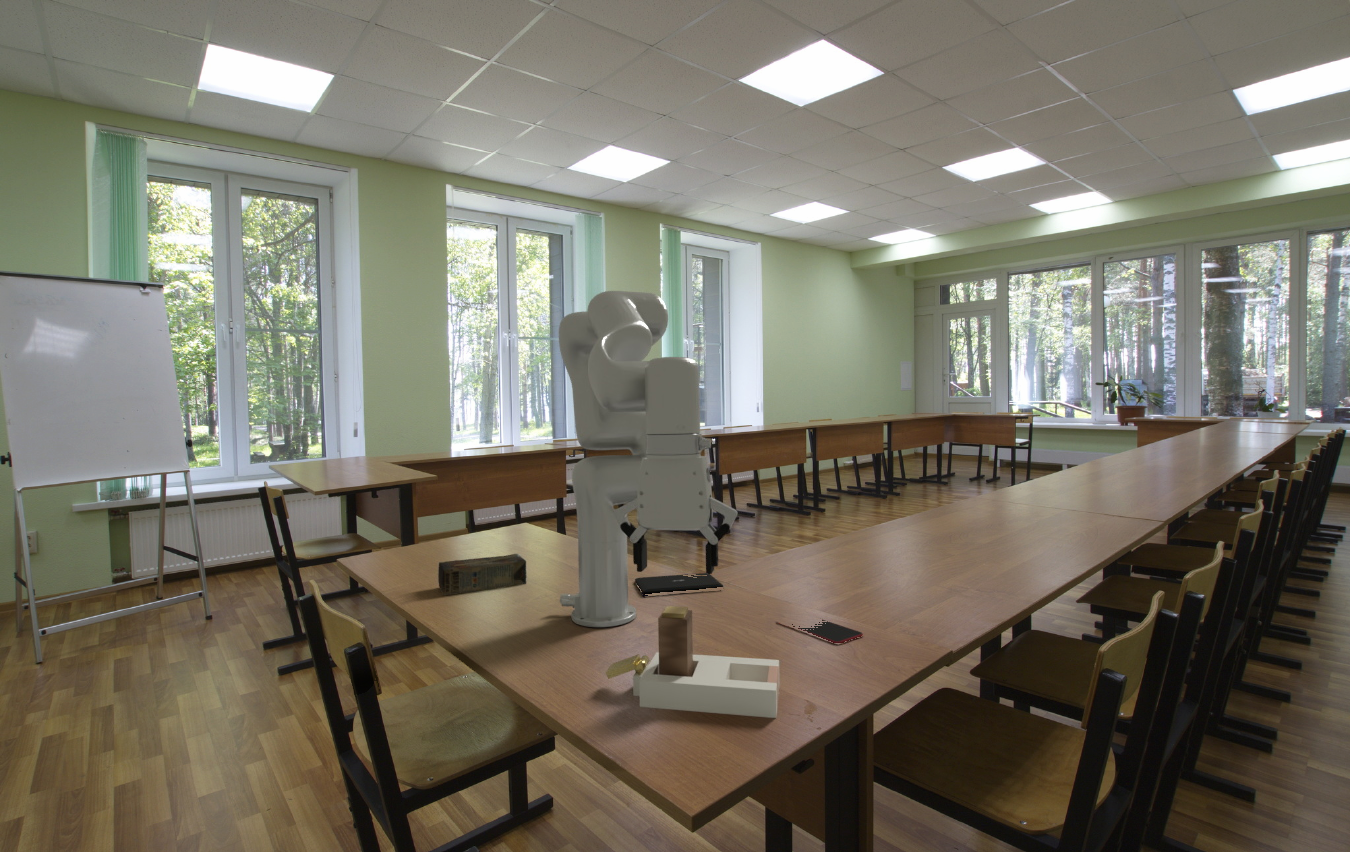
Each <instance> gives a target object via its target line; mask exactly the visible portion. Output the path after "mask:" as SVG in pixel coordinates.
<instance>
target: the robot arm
mask: <svg viewBox="0 0 1350 852" xmlns="http://www.w3.org/2000/svg"><path fill="white" fill-rule="evenodd" d="M668 324H669V312H668V308H667V305H666V303H665V302H664V300H663V299H662V298H661V297H660V295H657V294H655V293H652V292H642V291H641V292H640V291H626V290H625V291H624V290H623V291H622V290H607V291H602V292H600V293H598V294H596V295H594V296H593V298H591V300H590V301H589V303H588V305H587V310H586V311H575V312H571V313H568V314H567V315H565V316H563V318H562V319H561V321H560V322H559V326H558V344H559V346H558V347H559V349H560V350H559V351H560V355H561V358H562V361H563V364H564V366H565V369H566V372H567V374H568V377H569V380H570V383H571V388H572V399H573V400H572V401H573V402H572V403H573V414H574V416H573V417H574V425H575V426H574V427H575V435H576V439H577V442H578V444H579V446H580V447H582V448H583V449H585V450H590V451H591V450H593V451H610V450H611V451H612V450H613V451H614V450H629V451H630V452H631V454H628V455H627V454H626V455H625V454H624V455H623V454H622V455H619V454H617V455H615V454H614V455H595V456H589V457H585V458H582V459H580V460H579V461H577V463H576V464H575V465H574V466H573V468H572V472H571V481H572V482H571V483H572V489H573V494H574V500H575V508H576V519H577V522H576V523H577V543H578V544H577V546H578V548H577V551H578V552H577V553H578V555H577V556H578V592H577V593H575V594H571V593H561V594H560V596H559V602H560V604H561V607H567V608H568V607H572V608H573V609H572V611H571V613H570V614H571V621H572V622H573V623H575V624H577V625H579V626H582V627H588V628H607V627H608V628H610V627H617V626H621V625H625V624H627V623H630V622H631V621H633V620H634V619H635V618H636V617H637V609H636V607H634V606H633V605H631V604H629V588H628V587H629V586H628V585H629V582H628V581H629V580H628V574H629V573H628V572H629V571H628V538H629V541H630V542H631V543H632V551H633V552H632V553H633V554H632V555H633V556H632V557H633V558H632V560H633V561H632V562H633V565H636V572H637V573H642V572H643V571H644V570H645V569H647V568H648V541H647V540H646V539H645V535H646V534H647V532H648V531H650V530H651V531H700V533H701V534H702V535H703V536H704V537H705V539H706V540H707V543H706V544H705V573H707V574H710V575H712V574H713V573H714V570H715V567H717V568H718V567H719V541H721V539H723V538H724V536H725V535H727V534H728V533H729V531H730V530H731V529H732V525H733V524H734V522H735V520H736V518H737V516H738V513H739V512H738V511H737V510H736V509H735V508H733V507H731V506H729V505H728V504H725V503H724V502H722V501H720V500H718V499H716V498H714V497H713V494H712V492H713V491H712V482H711V473H710V466H709V462H708V458H707V456H705V455H701V454H702V451H704V450H706V449H711V448H712V440H711V438H706V437H704V436H703V435H702V433H701V411H700V409H701V406H700V403H701V401H700V372H699V371H700V369H699V364H698V362H697V361H696V360H695V359H693V358H690V357H685V356H663V357H656V358H652V359H650V360H645V358H646V357H648V355H649V354H650V352H651V349H652V347H653V346H654V345H655V344H657V343H658V342H659V341H660V339H662V338H663V336H664V335H665V333H666V331H667V328H668ZM622 504H623V505H622ZM615 505H622V506H620V507H617V508H616V509H615V508H614V506H615ZM634 510H636V520H637V525H638V527H636V526H634V524H633V523H632V522H630V520H629V517H628V514H629V513H630V512H632V511H634ZM714 511H715V512H716V513H719V514H721V515H722V516H723V517H724V520H723V522H722V524H721V525H720V526H719V527H718V528H717V529H716V527H714V526H713V524H712V522H713V516H714Z"/></svg>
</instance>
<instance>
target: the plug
mask: <svg viewBox="0 0 1350 852" xmlns="http://www.w3.org/2000/svg"><path fill="white" fill-rule="evenodd" d="M657 621H658V625H657V627H658V628H657V629H658V652H659V675H671V676H685V677H692V676H693V654H694V653H693V652H694V651H693V647H694V646H693V644H694V643H693V641H694V640H693V639H694V638H693V610H691V609H689V607H688V606H673V605H672V606H671V605H667V606H666V607H665V608H663V611H662V612H661V613H660V615H659V616H658V618H657Z"/></svg>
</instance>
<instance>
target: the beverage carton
mask: <svg viewBox="0 0 1350 852" xmlns="http://www.w3.org/2000/svg"><path fill="white" fill-rule="evenodd" d="M437 570H438V574H437V575H438V587H439V589H440V591H441V594H442V596H451V595H457V594H466V593H471V592H473V593H474V592H479V591H486V590H493V589H501V588H508V587H514V586H522V585H527V578H528V576H527V561H526V559H525V558H523V556H521V555H520V554H519V553H513V554H507V555H497V556H488V557H486V556H485V557H477V558H468V559H456V560H449V561H447V560H446V561H443V562H442V561H440V562H439V563H438V569H437Z"/></svg>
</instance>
